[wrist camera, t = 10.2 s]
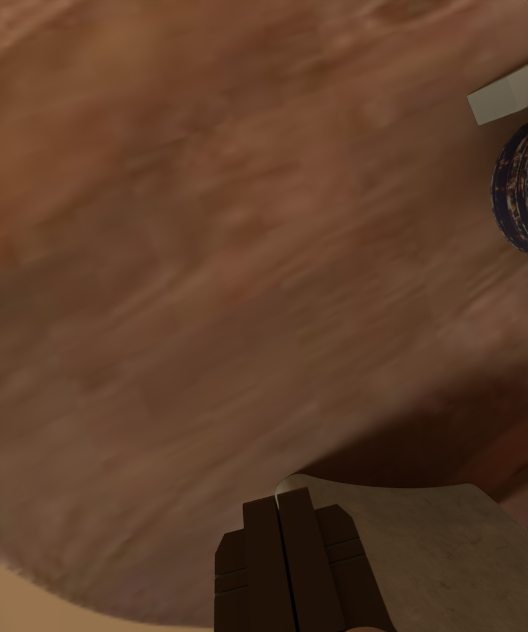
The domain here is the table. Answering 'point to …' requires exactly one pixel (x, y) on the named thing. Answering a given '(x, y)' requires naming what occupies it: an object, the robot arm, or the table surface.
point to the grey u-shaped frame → (501, 96)
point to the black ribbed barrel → (512, 190)
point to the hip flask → (436, 553)
